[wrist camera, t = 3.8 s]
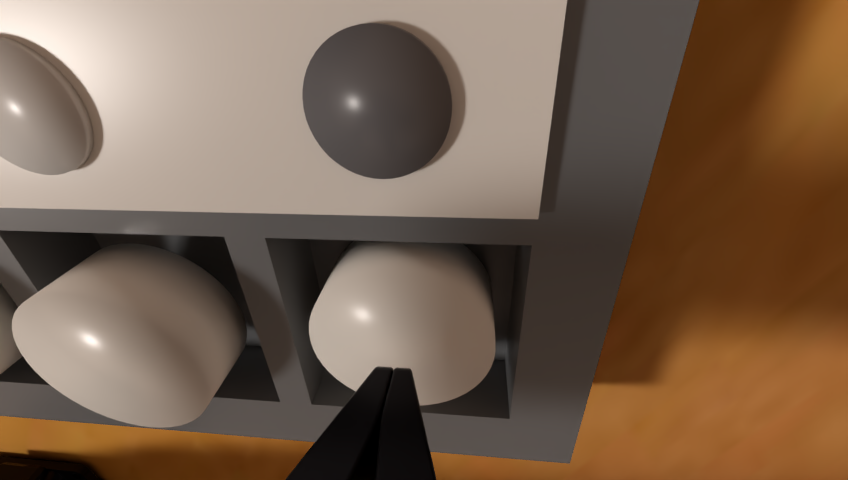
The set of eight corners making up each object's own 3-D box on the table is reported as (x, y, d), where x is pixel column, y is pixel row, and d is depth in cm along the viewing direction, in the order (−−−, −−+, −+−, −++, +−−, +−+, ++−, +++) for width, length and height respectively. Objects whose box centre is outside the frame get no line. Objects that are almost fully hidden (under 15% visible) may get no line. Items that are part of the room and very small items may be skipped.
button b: (264, 374, 13) (232, 433, 11) (124, 365, 13) (73, 420, 11) (218, 246, 10) (168, 297, 8) (48, 240, 11) (-32, 288, 9)
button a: (488, 356, 13) (490, 411, 11) (343, 348, 14) (324, 399, 12) (497, 227, 10) (502, 273, 9) (319, 223, 11) (291, 265, 9)
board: (553, 384, 15) (572, 479, 12) (-9, 348, 18) (-106, 420, 15) (652, -97, 8) (761, -149, 5) (-333, -40, 10) (-657, -52, 7)
